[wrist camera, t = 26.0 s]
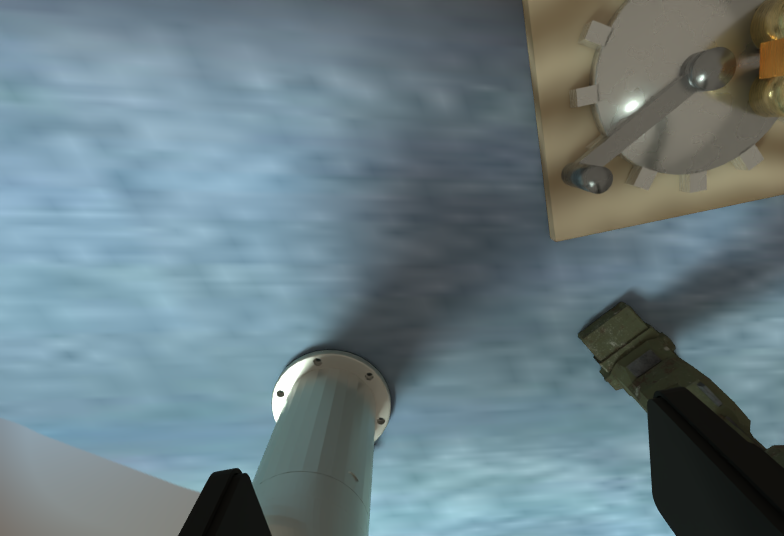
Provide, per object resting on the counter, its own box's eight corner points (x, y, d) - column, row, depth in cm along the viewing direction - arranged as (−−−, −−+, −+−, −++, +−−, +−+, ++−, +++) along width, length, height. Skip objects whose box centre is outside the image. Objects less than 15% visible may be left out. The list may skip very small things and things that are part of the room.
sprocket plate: (809, 184, 41) (826, 186, 39) (550, 238, 43) (556, 242, 41) (826, -124, 34) (848, -137, 33) (516, -46, 36) (522, -54, 34)
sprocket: (856, -9, 35) (956, -40, 29) (717, 238, 41) (775, 257, 35) (636, -102, 33) (693, -156, 27) (524, 170, 39) (549, 177, 33)
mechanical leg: (708, 390, 46) (1123, 692, 17) (649, 430, 48) (939, 770, 19) (620, 291, 47) (880, 420, 17) (564, 333, 48) (718, 518, 19)
